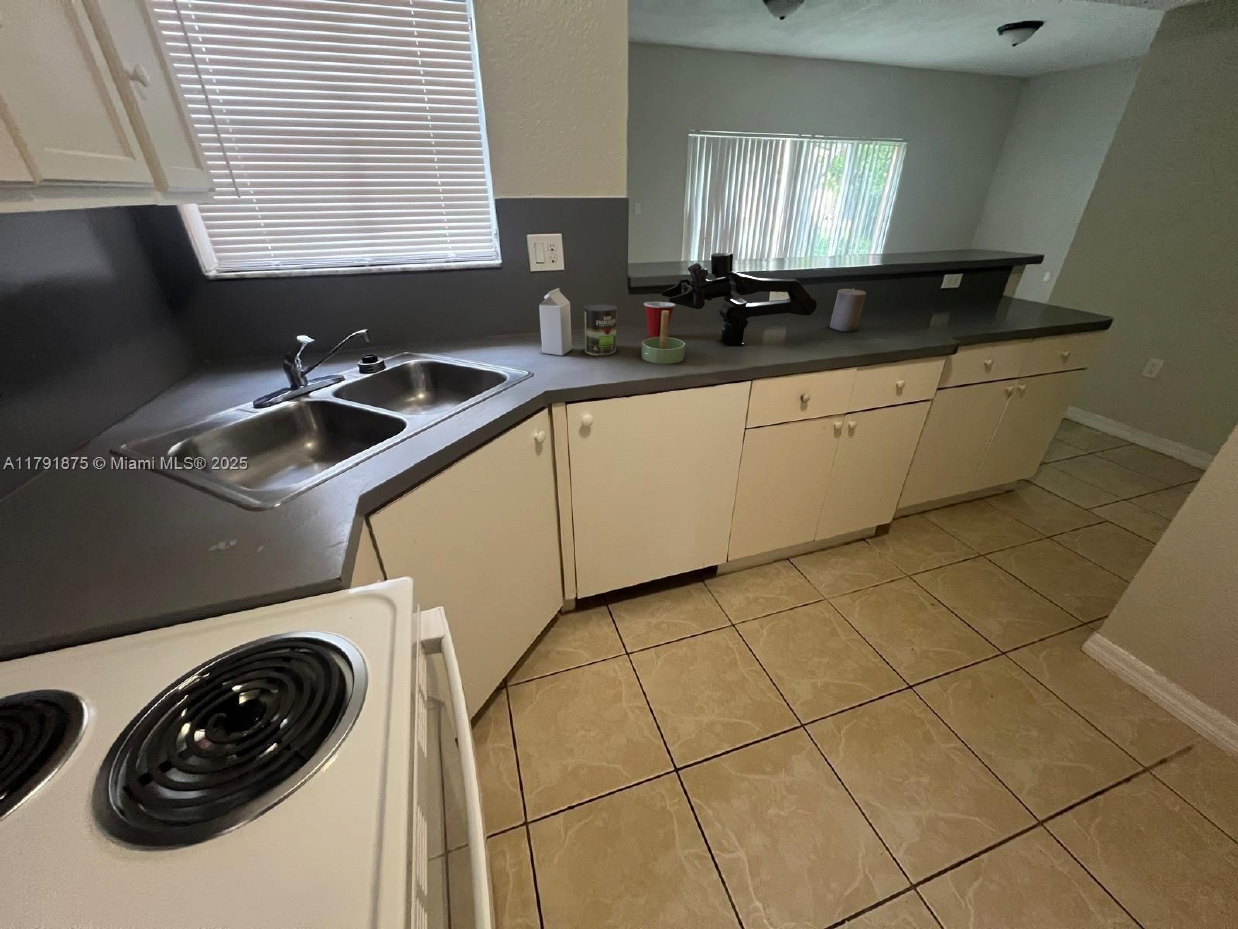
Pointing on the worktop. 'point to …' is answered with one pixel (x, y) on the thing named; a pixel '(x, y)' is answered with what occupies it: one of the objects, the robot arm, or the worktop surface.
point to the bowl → (662, 350)
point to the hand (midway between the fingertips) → (665, 297)
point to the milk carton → (555, 323)
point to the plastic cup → (656, 316)
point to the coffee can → (600, 328)
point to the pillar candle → (847, 309)
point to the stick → (664, 329)
